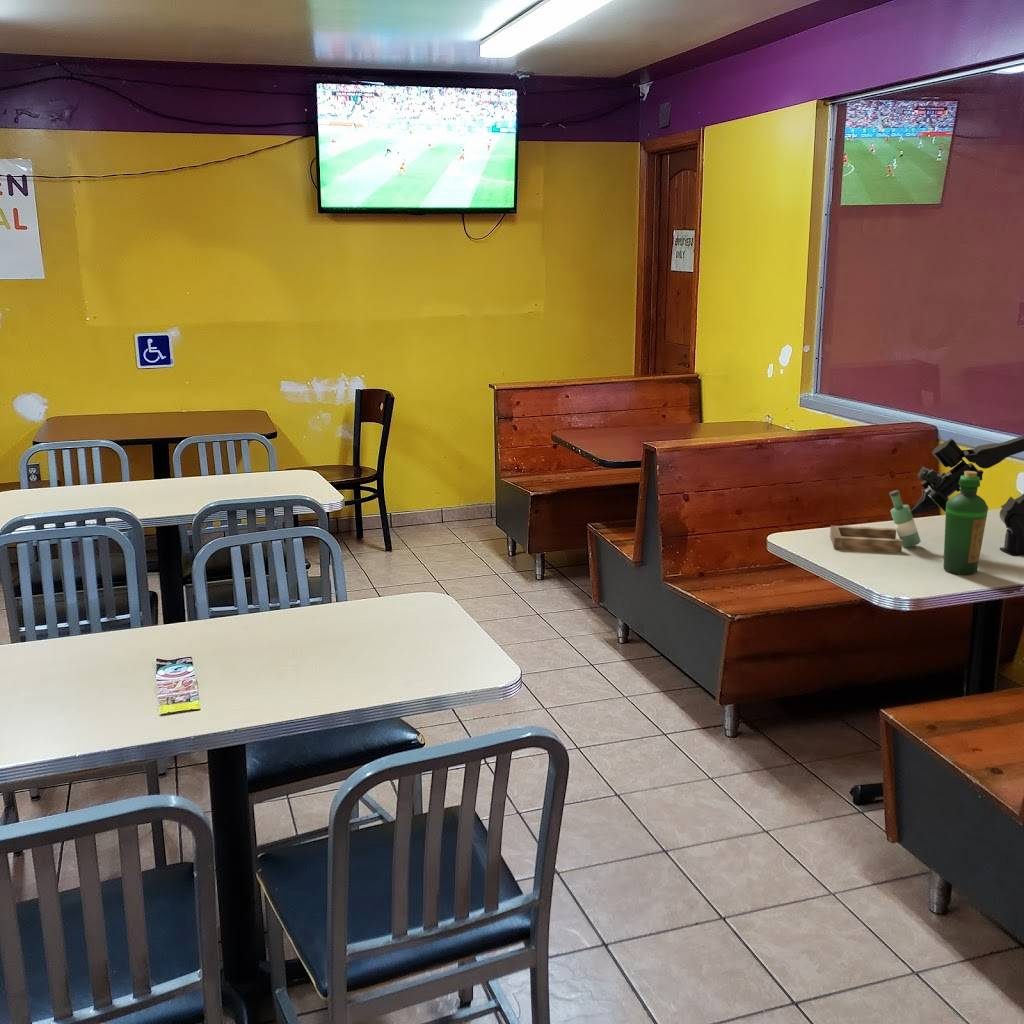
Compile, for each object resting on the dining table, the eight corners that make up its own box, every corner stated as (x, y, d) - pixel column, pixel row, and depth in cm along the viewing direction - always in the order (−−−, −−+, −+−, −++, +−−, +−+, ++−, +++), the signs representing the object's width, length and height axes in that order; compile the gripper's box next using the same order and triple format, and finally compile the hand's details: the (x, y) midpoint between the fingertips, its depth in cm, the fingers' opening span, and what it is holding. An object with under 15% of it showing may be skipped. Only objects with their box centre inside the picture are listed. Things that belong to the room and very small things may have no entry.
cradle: (894, 539, 314) (895, 528, 313) (901, 552, 301) (902, 541, 300) (829, 536, 318) (830, 525, 317) (834, 549, 305) (834, 537, 304)
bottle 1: (924, 541, 304) (906, 489, 301) (907, 548, 303) (889, 496, 301) (915, 538, 309) (897, 487, 307) (898, 545, 309) (881, 494, 306)
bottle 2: (987, 576, 278) (999, 476, 271) (947, 576, 279) (958, 476, 272) (971, 565, 289) (982, 468, 282) (933, 565, 289) (943, 468, 282)
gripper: (931, 452, 308) (889, 486, 313) (943, 465, 290) (898, 500, 295) (956, 479, 308) (913, 512, 313) (969, 493, 290) (924, 528, 295)
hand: (911, 513), depth 304 cm, fingers closed
